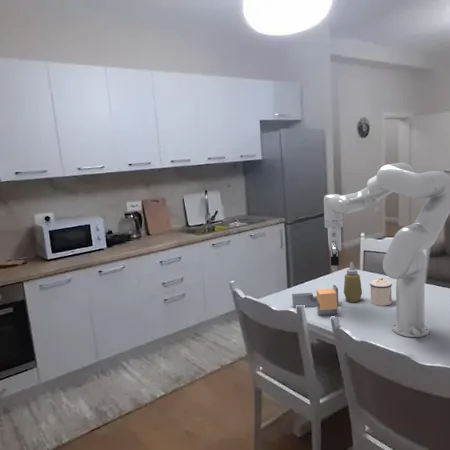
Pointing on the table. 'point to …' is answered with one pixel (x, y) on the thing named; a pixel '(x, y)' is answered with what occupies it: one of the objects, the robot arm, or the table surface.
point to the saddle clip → (327, 298)
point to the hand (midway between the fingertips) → (334, 262)
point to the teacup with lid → (381, 292)
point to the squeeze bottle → (352, 284)
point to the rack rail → (308, 299)
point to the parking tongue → (325, 311)
